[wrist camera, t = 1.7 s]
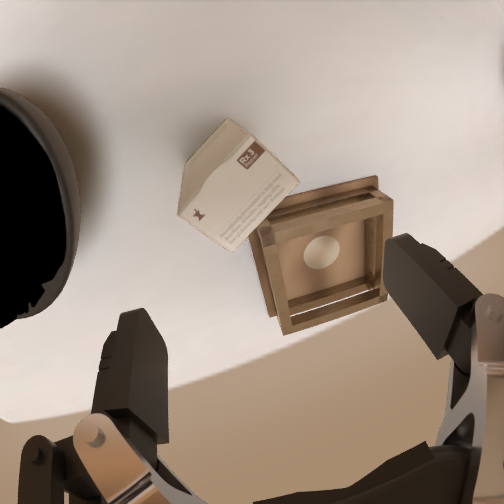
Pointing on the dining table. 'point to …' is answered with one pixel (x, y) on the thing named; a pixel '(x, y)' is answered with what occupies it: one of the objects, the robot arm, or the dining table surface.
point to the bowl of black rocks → (34, 209)
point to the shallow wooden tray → (316, 220)
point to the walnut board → (317, 250)
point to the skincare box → (232, 185)
